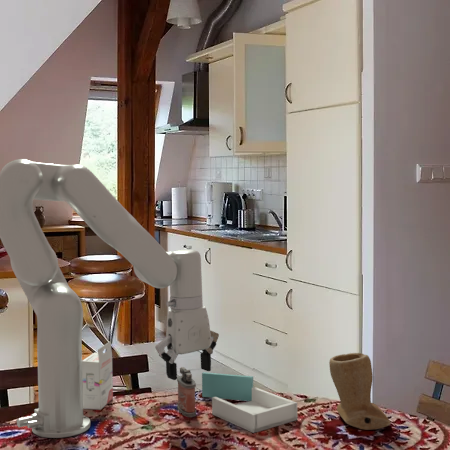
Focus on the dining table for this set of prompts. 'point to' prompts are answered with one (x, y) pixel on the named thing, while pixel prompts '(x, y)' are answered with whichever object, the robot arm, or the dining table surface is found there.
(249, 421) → the box
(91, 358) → the ink cartridge box
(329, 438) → the dining table surface
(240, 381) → the box door
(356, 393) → the clay boot vessel
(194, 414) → the lighter
